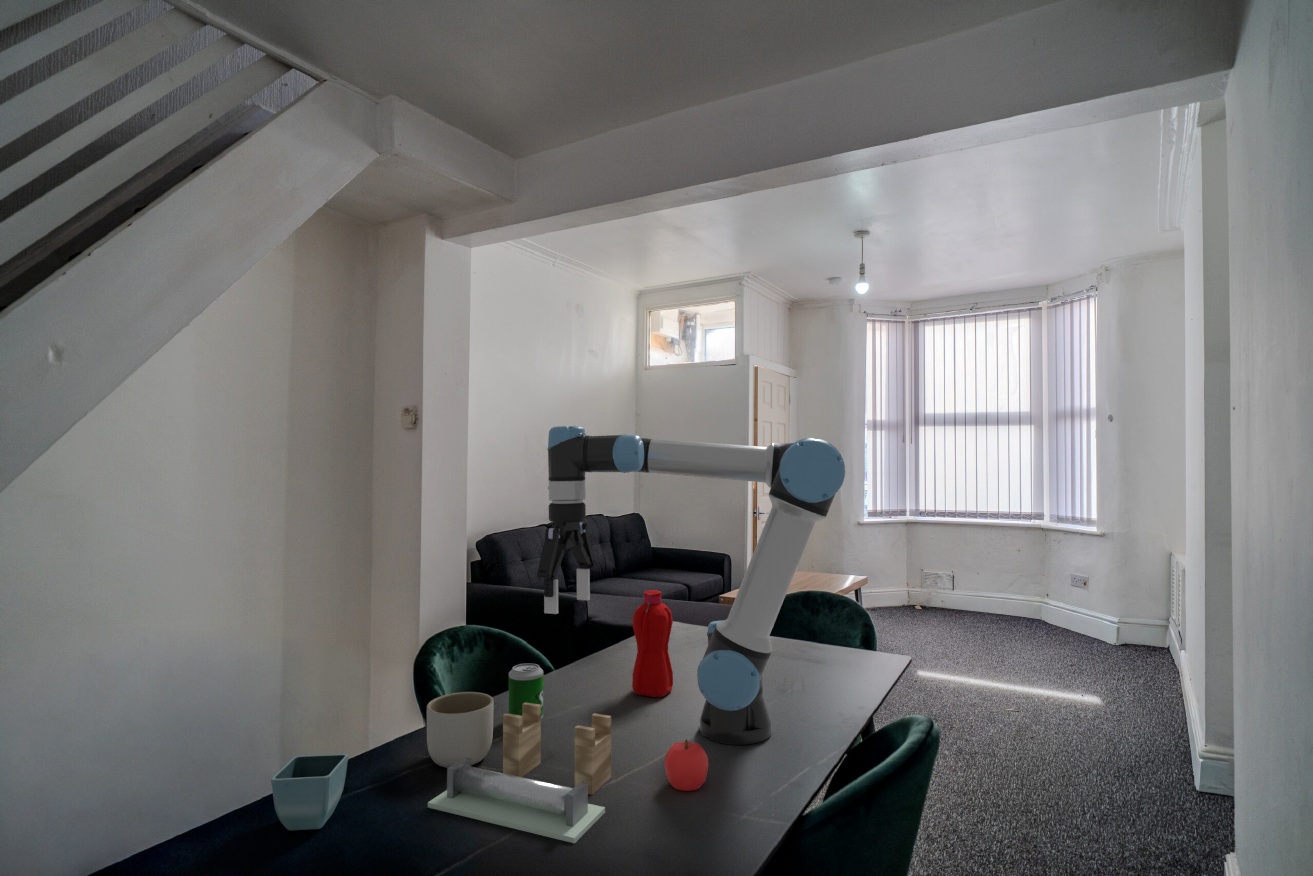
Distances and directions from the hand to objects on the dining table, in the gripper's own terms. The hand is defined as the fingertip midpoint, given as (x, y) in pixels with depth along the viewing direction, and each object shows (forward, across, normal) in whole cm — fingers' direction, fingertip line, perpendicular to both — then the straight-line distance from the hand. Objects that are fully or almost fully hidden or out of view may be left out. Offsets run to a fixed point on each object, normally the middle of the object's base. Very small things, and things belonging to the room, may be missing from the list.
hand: (568, 606), depth 141 cm
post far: (+28, +13, -3) cm, 31 cm away
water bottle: (+28, -35, +4) cm, 45 cm away
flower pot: (+28, +41, -24) cm, 55 cm away
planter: (+28, +13, -16) cm, 35 cm away
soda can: (+28, -8, -15) cm, 33 cm away
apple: (+28, +8, +28) cm, 41 cm away
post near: (+28, +13, +12) cm, 33 cm away
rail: (+27, +26, +4) cm, 38 cm away
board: (+28, +26, +4) cm, 38 cm away
